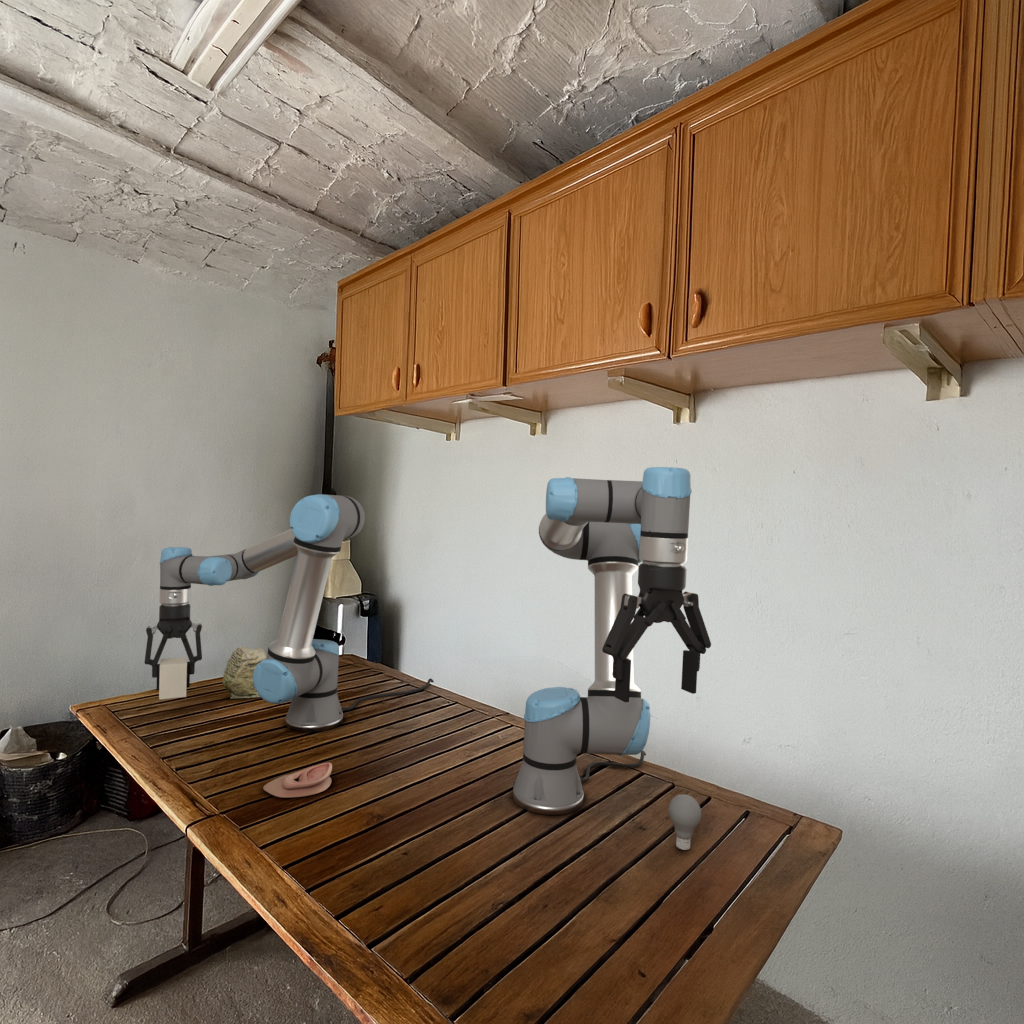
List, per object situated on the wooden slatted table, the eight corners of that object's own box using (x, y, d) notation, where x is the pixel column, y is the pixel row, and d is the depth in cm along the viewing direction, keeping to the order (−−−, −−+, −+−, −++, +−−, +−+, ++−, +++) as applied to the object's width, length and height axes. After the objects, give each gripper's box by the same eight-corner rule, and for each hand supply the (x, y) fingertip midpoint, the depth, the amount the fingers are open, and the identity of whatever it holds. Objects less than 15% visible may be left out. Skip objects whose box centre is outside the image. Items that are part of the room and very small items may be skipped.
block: (160, 691, 175) (161, 658, 175) (186, 689, 178) (187, 656, 178) (158, 699, 169) (159, 665, 169) (186, 696, 172) (187, 663, 171)
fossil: (218, 695, 195) (220, 647, 195) (278, 685, 208) (279, 640, 207) (228, 703, 189) (230, 653, 188) (289, 692, 201) (290, 645, 201)
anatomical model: (255, 775, 133) (285, 754, 145) (254, 793, 133) (285, 771, 145) (313, 783, 131) (339, 761, 142) (312, 802, 131) (338, 779, 142)
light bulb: (662, 839, 122) (664, 788, 122) (692, 839, 123) (695, 788, 122) (672, 857, 116) (675, 803, 116) (704, 857, 117) (707, 803, 116)
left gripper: (132, 607, 165) (130, 695, 166) (214, 604, 174) (212, 687, 175) (135, 603, 172) (133, 687, 172) (213, 600, 181) (212, 680, 181)
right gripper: (612, 567, 93) (605, 711, 93) (737, 565, 104) (730, 694, 104) (584, 561, 99) (578, 696, 100) (704, 561, 110) (698, 681, 111)
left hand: (173, 687), depth 174 cm, fingers closed on block, 6 cm apart
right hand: (656, 695), depth 102 cm, fingers open, 13 cm apart
